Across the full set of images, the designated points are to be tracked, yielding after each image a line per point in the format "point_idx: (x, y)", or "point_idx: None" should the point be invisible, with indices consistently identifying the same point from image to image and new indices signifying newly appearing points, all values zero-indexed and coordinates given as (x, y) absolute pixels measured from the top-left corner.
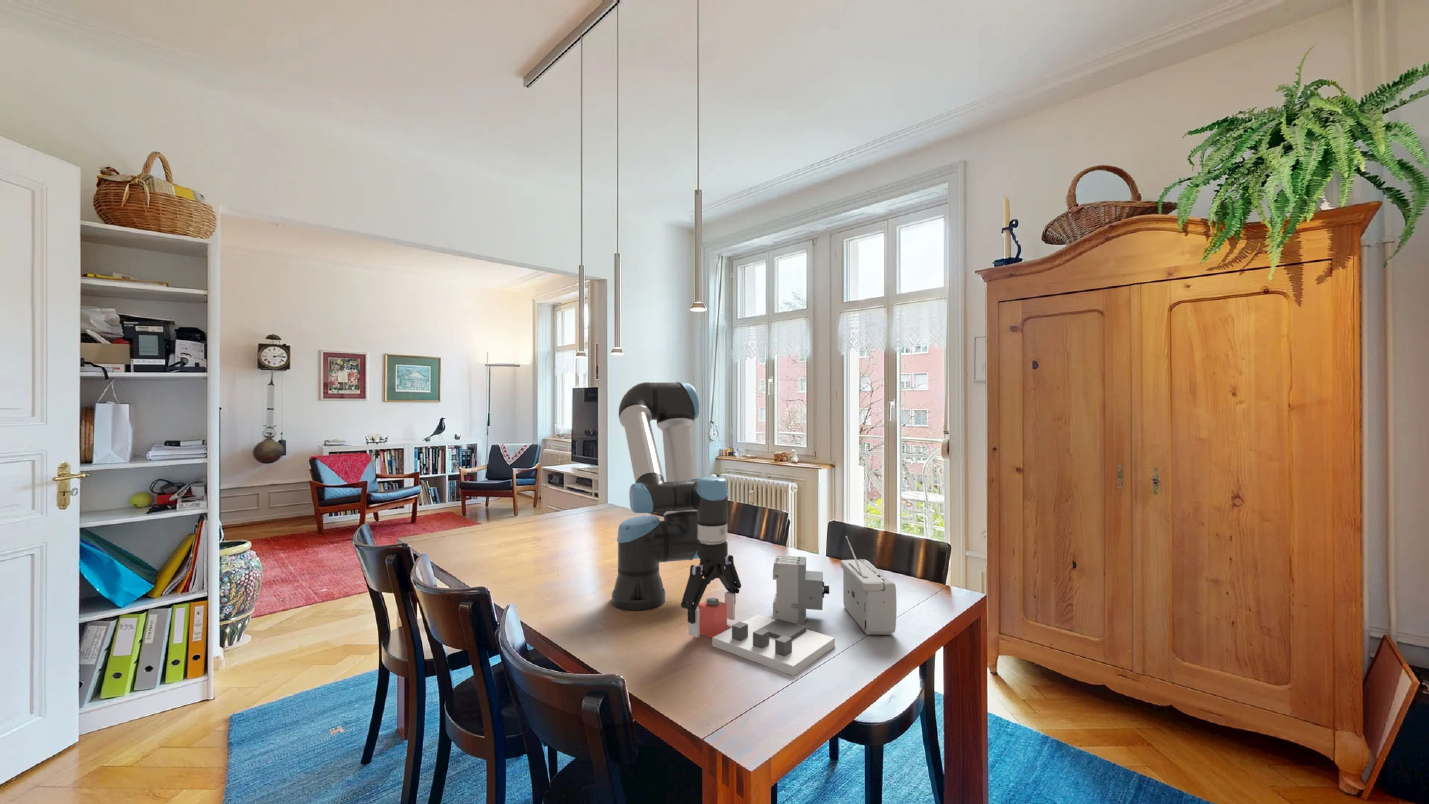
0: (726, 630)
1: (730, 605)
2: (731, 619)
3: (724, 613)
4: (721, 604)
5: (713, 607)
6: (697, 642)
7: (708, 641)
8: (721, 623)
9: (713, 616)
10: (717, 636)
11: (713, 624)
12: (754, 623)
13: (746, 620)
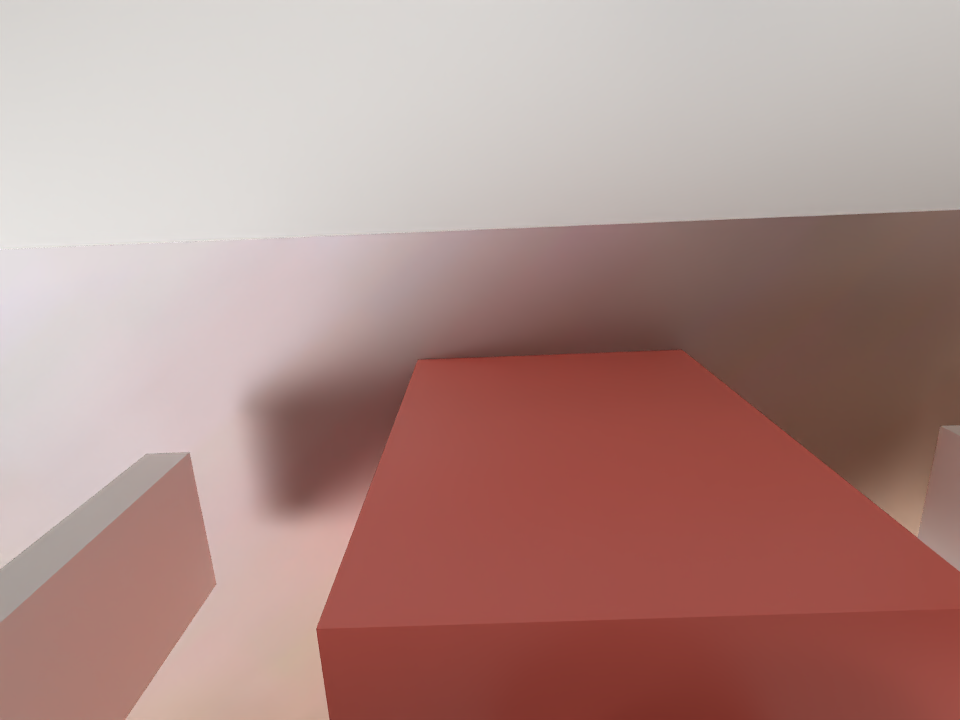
0: (619, 221)
1: (53, 648)
2: (192, 480)
3: (455, 479)
4: (496, 691)
5: (863, 704)
6: (893, 416)
7: (795, 339)
8: (544, 405)
9: (859, 495)
10: (909, 171)
11: (762, 424)
12: (40, 31)
13: (70, 238)
